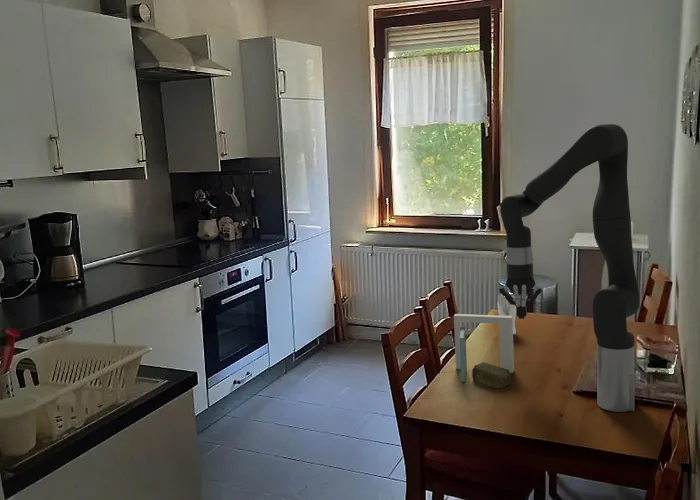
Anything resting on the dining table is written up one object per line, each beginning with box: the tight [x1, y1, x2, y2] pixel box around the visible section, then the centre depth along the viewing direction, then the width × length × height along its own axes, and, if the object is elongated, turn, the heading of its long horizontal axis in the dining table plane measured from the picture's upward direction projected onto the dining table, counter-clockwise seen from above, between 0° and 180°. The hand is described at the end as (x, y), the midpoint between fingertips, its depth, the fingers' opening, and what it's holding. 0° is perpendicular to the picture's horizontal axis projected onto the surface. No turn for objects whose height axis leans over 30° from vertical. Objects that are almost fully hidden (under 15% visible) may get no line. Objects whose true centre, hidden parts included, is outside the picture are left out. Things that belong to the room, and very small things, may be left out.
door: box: [460, 326, 468, 383], centre depth 202 cm, size 12×1×14 cm, turn 168°
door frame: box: [453, 313, 515, 374], centre depth 206 cm, size 18×2×18 cm, turn 68°
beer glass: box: [497, 292, 517, 336], centre depth 243 cm, size 7×7×15 cm
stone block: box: [471, 361, 511, 390], centre depth 196 cm, size 6×12×5 cm, turn 36°
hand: (521, 318), depth 193 cm, fingers closed
